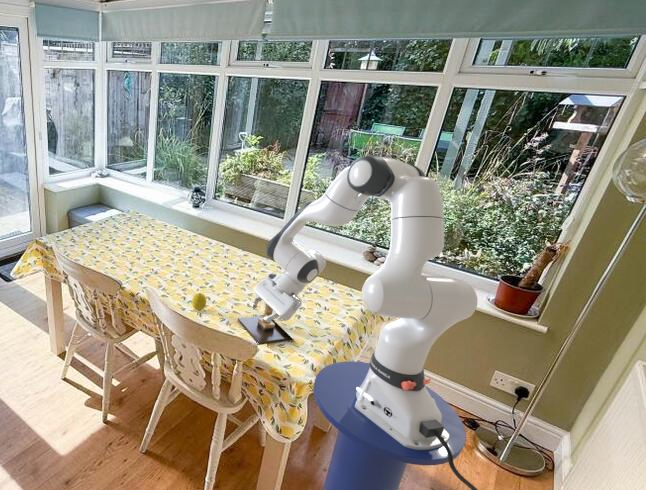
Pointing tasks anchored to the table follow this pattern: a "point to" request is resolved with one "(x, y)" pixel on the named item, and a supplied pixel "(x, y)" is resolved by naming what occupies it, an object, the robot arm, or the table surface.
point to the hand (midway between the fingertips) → (258, 313)
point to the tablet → (261, 335)
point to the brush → (263, 323)
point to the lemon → (199, 301)
